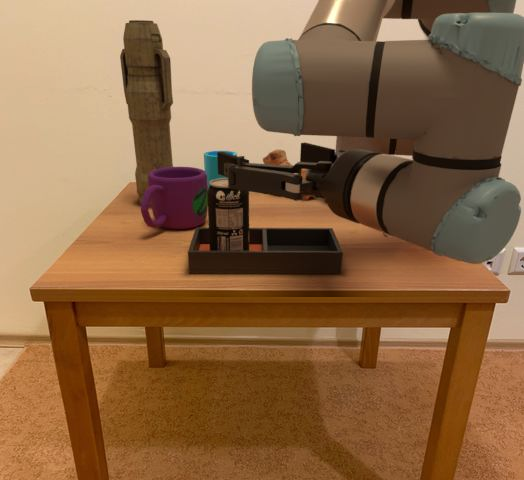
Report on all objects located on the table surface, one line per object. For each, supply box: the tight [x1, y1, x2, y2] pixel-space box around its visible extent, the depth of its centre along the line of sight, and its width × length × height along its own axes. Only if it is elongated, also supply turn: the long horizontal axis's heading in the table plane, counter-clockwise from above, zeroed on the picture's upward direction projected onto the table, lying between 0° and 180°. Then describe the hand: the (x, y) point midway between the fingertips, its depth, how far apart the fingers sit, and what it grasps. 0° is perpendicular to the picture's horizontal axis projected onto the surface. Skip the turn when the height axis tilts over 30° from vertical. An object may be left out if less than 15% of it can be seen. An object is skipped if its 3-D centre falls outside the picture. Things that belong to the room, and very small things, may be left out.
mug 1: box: [140, 166, 208, 230], centre depth 99 cm, size 17×11×10 cm, turn 154°
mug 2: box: [203, 150, 238, 189], centre depth 127 cm, size 12×8×8 cm
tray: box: [187, 226, 344, 275], centre depth 85 cm, size 12×24×4 cm, turn 91°
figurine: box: [262, 149, 314, 201], centre depth 121 cm, size 7×16×10 cm, turn 58°
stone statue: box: [119, 19, 174, 208], centre depth 108 cm, size 9×12×35 cm
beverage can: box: [207, 178, 250, 251], centre depth 83 cm, size 7×7×12 cm
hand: (263, 157), depth 70 cm, fingers open, 13 cm apart
